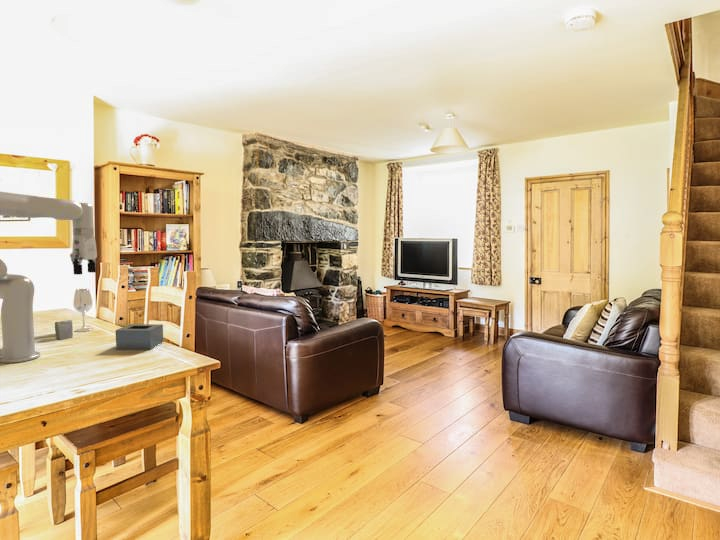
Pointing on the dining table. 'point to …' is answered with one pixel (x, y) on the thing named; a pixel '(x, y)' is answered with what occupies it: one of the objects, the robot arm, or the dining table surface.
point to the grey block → (64, 329)
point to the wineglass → (82, 305)
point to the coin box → (139, 336)
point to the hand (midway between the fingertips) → (85, 273)
